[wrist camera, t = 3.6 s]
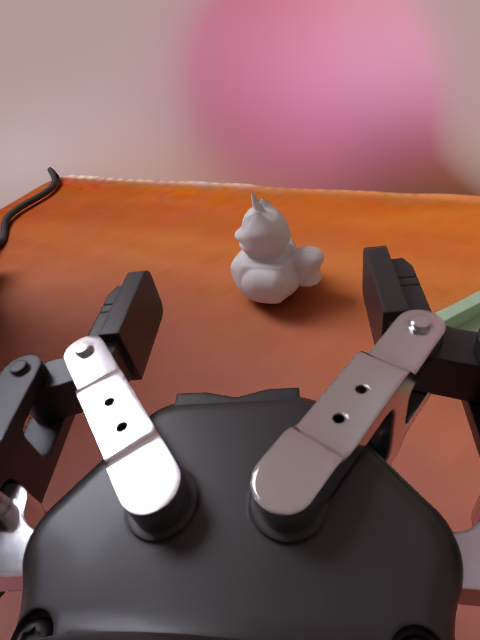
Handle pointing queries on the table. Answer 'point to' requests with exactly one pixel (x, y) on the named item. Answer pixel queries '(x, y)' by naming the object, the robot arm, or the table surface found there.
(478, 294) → the tray
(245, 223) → the white plastic figurine
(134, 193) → the table surface
